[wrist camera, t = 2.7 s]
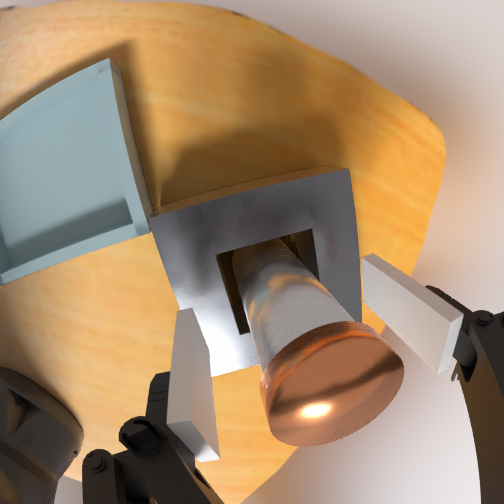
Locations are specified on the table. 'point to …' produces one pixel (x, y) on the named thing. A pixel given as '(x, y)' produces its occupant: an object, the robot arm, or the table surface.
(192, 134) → the table surface
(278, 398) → the pin
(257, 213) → the block
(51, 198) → the tray
